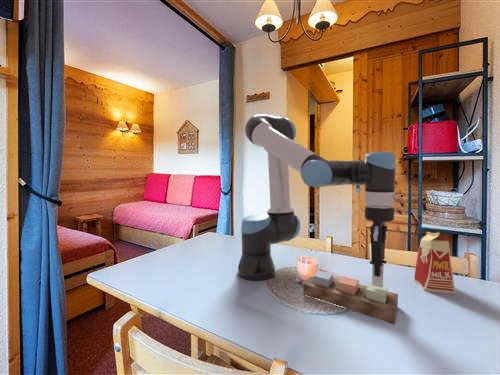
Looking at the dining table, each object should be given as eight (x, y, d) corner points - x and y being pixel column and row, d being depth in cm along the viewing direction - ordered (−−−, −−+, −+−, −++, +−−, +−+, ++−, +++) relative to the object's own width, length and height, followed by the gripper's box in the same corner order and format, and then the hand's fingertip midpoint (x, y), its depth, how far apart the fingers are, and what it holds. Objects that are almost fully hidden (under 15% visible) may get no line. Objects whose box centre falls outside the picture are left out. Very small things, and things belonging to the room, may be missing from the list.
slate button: (313, 288, 80) (313, 275, 79) (318, 282, 84) (318, 270, 83) (328, 293, 77) (328, 279, 76) (333, 286, 81) (333, 274, 80)
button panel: (303, 295, 79) (303, 283, 79) (314, 283, 87) (314, 273, 87) (394, 324, 64) (394, 310, 64) (397, 306, 72) (397, 294, 72)
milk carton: (455, 293, 79) (458, 234, 78) (424, 291, 81) (427, 233, 80) (440, 281, 88) (442, 228, 87) (412, 279, 90) (414, 227, 89)
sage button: (365, 304, 70) (366, 289, 70) (368, 296, 74) (369, 282, 74) (385, 309, 67) (385, 294, 67) (387, 301, 71) (387, 287, 71)
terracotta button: (337, 295, 75) (338, 282, 75) (342, 289, 79) (342, 276, 79) (354, 300, 72) (355, 286, 72) (358, 293, 76) (358, 280, 76)
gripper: (391, 210, 61) (389, 299, 63) (396, 204, 72) (394, 280, 73) (360, 208, 66) (359, 291, 67) (369, 202, 76) (367, 274, 78)
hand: (377, 285), depth 70 cm, fingers closed
